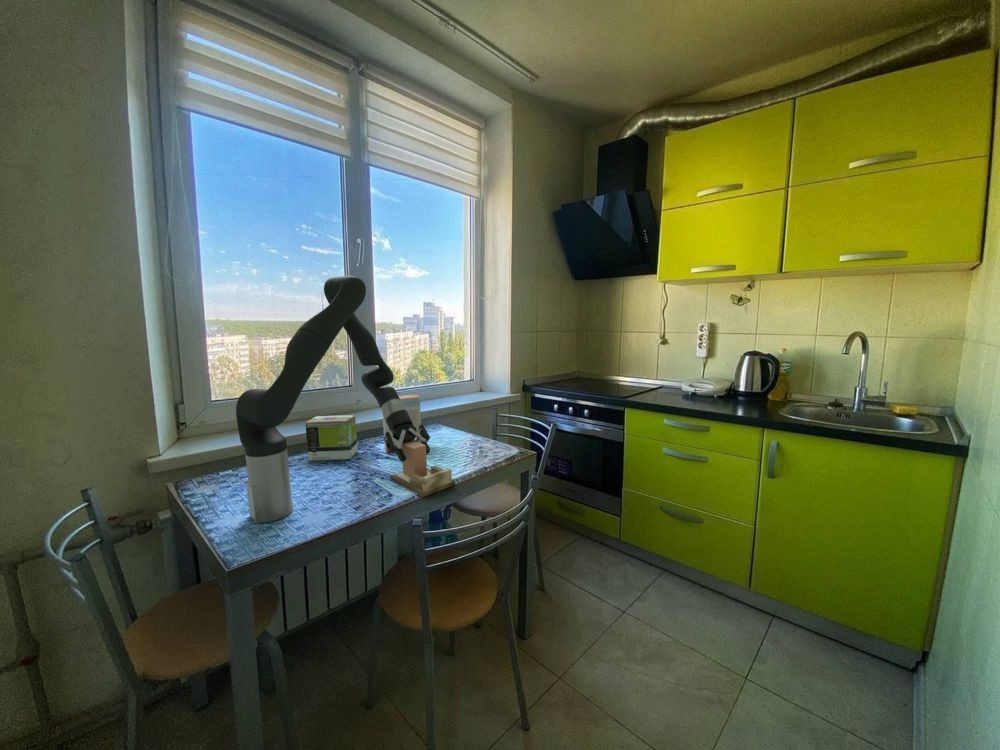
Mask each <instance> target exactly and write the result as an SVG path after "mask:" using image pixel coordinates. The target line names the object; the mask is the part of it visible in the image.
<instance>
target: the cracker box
mask: <svg viewBox="0 0 1000 750" xmlns="http://www.w3.org/2000/svg"><path fill="white" fill-rule="evenodd" d="M398 396H399V398H400V400H401V402H402V403H403V404H404V406H405V408H406V410H407V412H408V414H409V416H410V418H411V420H412V423H413V425H414V426H415V427H418V426H420V425H421V424H422V416H421V415H422V414H421V413H422V412H421V398H420V397H421V396H419V395H418V394H409V395H408V394H407V395H398ZM382 425H383V427H382V428H383V436H384V435H385V434H386V432H389V433H392V432H391V431H390V429H389V427H388V425H387V423H386V420H385V419H384V416H383V415H382ZM416 432H417V431H416ZM417 433H418V432H417ZM419 434H420V433H419ZM415 438H417V437H416V436H415ZM383 440H384V439H383ZM392 440H393V443H394V445H395V446H396V443H397V440H396V439H395V438H393V437H392ZM383 444H384V449H385V452H386V453H390V452H389V451H388V448H387V445H386V443H385V440H384V441H383ZM401 449H402V445H401ZM392 452H393V451H392ZM392 452H391V453H392Z"/></svg>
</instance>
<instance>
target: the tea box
mask: <svg viewBox="0 0 1000 750" xmlns="http://www.w3.org/2000/svg"><path fill="white" fill-rule="evenodd" d="M304 424H305V425H304V426H305V435H306V447H307V448H306V449H307V456H308V461H334V460H335V461H336V460H339V461H340V460H350V459H352V458H353V456H354V455H355V454H357V452H358V437H357V425H356V414H347V415H346V414H345V415H344V414H343V415H341V414H339V415H319V416H318V415H317V416H314V417H312V418H311V419H309V420H307V421H305V422H304Z"/></svg>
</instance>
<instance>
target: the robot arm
mask: <svg viewBox="0 0 1000 750" xmlns="http://www.w3.org/2000/svg"><path fill="white" fill-rule="evenodd" d="M323 285H324V286H323V293H324V296H325V299H326V301H327V303H328V305H327V306H325V308H323V309H322V310H321V311H319V312H317V313H316V314H314V315H313V316H312V317H310V318H308V320H307V321H305V322H304V323H303V324H302V325H300V327H299V328H298V329H297V330H296V332H295V334H293V336H292V337H291V339H290V340H289V342H288V343H287V346H286V350H285V356H284V364H283V368H282V370H281V372H280V374H279V375H278V377H276V379H275V381H274V382H273V383H272V385H271V386H269V388H268V389H264V388H251V389H248V390H245V391H244V392H243V393H242V394H241V395H240V396H239V397H238V399H237V402H236V406H235V416H236V424H237V430H238V435H239V440H240V444H241V445H242V447H243V448H244V453H245V462H246V473H247V481H246V493H247V502H248V503H247V504H248V511H249V516H250V518H251V520H252V522H254V524H255V525H257V524H261V523H268V522H269V523H270V522H274V521H277V520H280V519H283V518H285V517H287V516H288V515H290V514H292V511H293V499H292V498H293V497H292V489H291V488H292V487H291V476H290V465H289V464H290V463H289V452H288V442H287V439H286V437H285V436H284V435H283V434H282V433H281V432H280V431H279V430H278V428H277V426H280V425H281V424H282V423H283V422H285V421H286V419H287V418H288V417H289V415H290V414H291V413H292V410H293V408H294V406H295V405H296V403H297V401H298V398H299V396H300V394H301V393H302V390H303V389H304V387H305V386H306V384H307V382H308V381H309V379H310V378H311V376H312V374H313V373H314V371H315V369H316V368H317V366H318V365H319V364H320V362H321V361H322V359H323V358H324V356H325V355H326V353H327V352H328V350H329V348H330V347H331V346H332V344H333V342H334V341H335V339H336V337H337V336H338V335H339V334H340V332H341V331H342V329H343V328H344V330H345V332H346V334H347V337H348V338H349V340H350V341H351V343H352V346H353V349H354V351H355V353H356V356H357V358H358V361H359V363H360V365H362V366H364V367H369V366H371V367H372V366H376V367H374V368H371V369H368V370H366V371H364V372H363V373H362V375H361V382H362V384H363V386H364V387H365V388H366V390H367V391H369V392H370V394H372V396H373V397H374V398H375V400H376V402H377V404H378V406H379V408H380V410H381V412H382V417H383V416H384V419H385V420H386V423H387V425H388V427H389V429H390V431H391V432H392V433H389V432H386V434H385V435H384V434H383V440H385V443H386V445H387V448H388V451H389V452H388V453H392V451H393V452H394V453H396V455H397V458H398V460H399V461H401V463H402V462H405V460H406V456H405V454H404V451H403V449H401V445H402V443H406V442H410V441H416V442H419V443H421V444H424V445H426V456H428V455H429V454H431V453H430V452H431V448H430V446H429V444H428V442H429V440H430V439H431V436H430V434H429V433H428V431H427V430H426V428H425V426H424V424H422V423H421V425H420V426H418V427H415V426H414V425H413V423H412V420H411V418H410V416H409V414H408V412H407V410H406V408H405V406H404V404H403V403H402V402H401V400H400V398H399V396H400V395H399V394H398V392H397V390H396V389H395V388H394V387H392V386H387V385H390V384H392V383H393V382H394V377H395V376H394V373H393V371H392V370H391V368H390V367H389V366H388V364H387V363H386V361H385V360H384V358H382V356H381V353H380V351H379V347H378V345H377V343H376V340H375V338H374V336H373V335H372V334H371V332H370V330H369V329H367V328H366V326H365V325H364V324H363V323H362V322H361V320H360V319H359V318H358V317H357V315H356V313H355V312H356V311H357V310H358V308H360V306H361V305H362V304H363V302H364V301H365V298H366V294H367V287H366V284H365V282H364V281H363V279H361V278H360V277H358V276H355V275H343V276H342V275H341V276H333V277H329V278H328V279H326V280H325V283H324V284H323ZM386 386H387V387H386ZM416 431H417V432H418V433H417V432H416ZM419 433H420V434H419ZM415 436H416V437H417V438H415ZM392 437H393V438H395V439H396V440H397V443H396V446H395V445H394V443H393V440H392Z"/></svg>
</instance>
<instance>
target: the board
mask: <svg viewBox="0 0 1000 750" xmlns="http://www.w3.org/2000/svg"><path fill="white" fill-rule="evenodd" d="M452 475H453V474H452V469H450V468H449V467H447V468H446V469H443V468H442V467H439V466H437V465H433V466H430V468H428V467H427V476H424V477H422V476H420V475H418V474H416V473H414V472H413V473H410V474H409V476H407V475H405V474H403V471H401V472H397V473H395V474H391V475H390V476H389V477H390V480H391V481H392V482H394V483H396V484H398V485H399V486H401V487H403V488H405V489H406V488H407V490H408V489H409V491H410V492H412V491H413V492H415V493H417V494H418V495H417V494H416V495H417V496H419V497H421V498H424V497H427V496H429V495H432V494H435V493H437V492H440V491H442V490H445V489H448V488H450V487H453V486H455V485H456V480H454V479H452ZM413 492H412V493H413ZM415 493H414V494H415Z"/></svg>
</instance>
